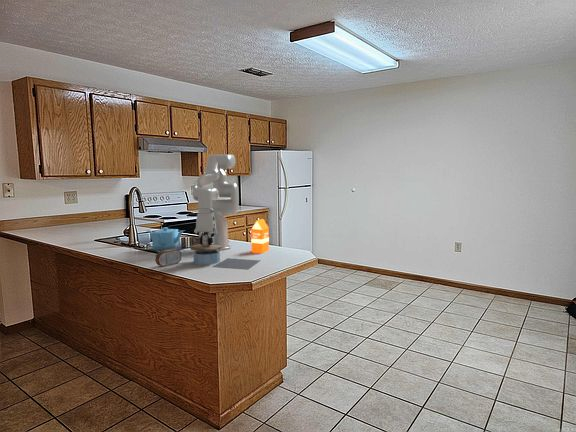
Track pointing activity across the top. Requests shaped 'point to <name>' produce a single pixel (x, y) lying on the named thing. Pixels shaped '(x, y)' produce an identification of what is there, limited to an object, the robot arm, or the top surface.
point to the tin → (168, 257)
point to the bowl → (206, 257)
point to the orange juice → (260, 237)
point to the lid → (205, 245)
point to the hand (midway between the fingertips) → (206, 244)
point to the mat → (237, 263)
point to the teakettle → (165, 238)
